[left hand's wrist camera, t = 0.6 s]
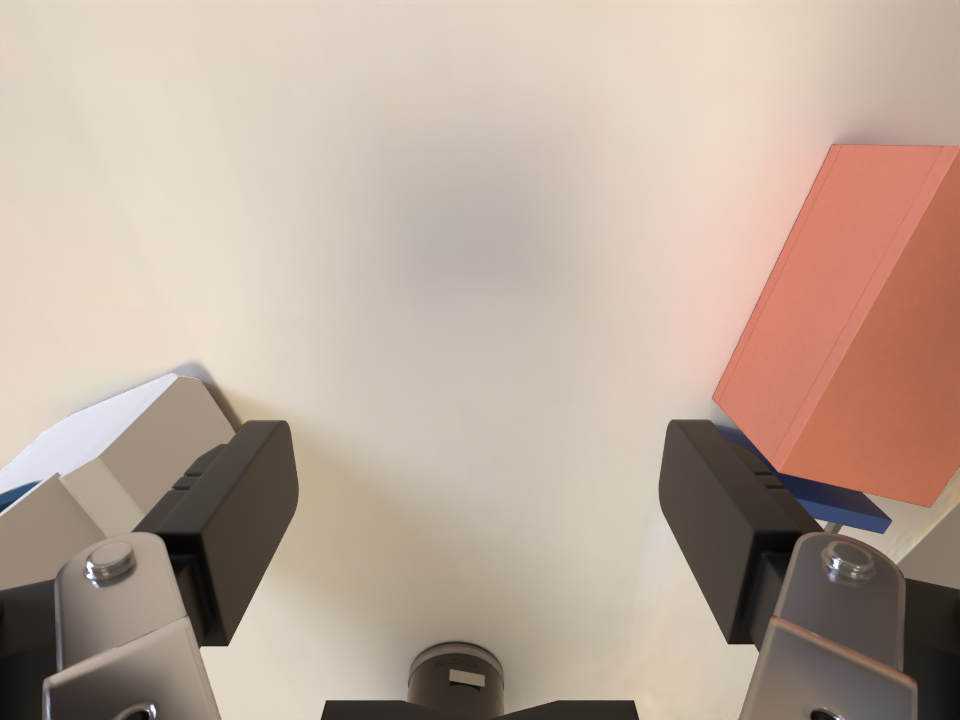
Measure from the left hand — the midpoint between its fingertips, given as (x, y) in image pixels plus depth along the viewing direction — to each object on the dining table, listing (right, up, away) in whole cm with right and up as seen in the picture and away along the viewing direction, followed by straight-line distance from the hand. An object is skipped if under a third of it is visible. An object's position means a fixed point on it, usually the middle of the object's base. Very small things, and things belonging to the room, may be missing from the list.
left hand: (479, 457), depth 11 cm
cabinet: (+26, +6, +28) cm, 38 cm away
